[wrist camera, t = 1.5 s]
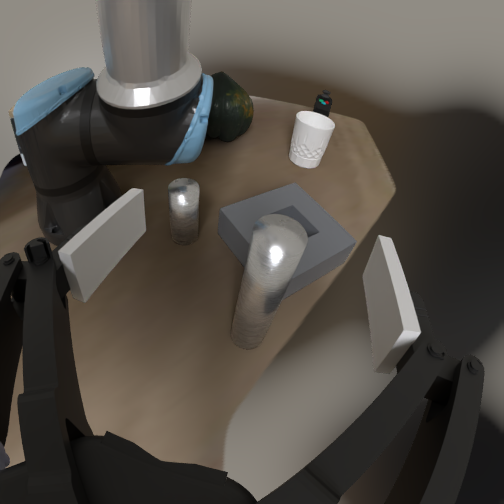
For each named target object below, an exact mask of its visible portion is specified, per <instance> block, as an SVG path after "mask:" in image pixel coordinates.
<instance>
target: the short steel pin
mask: <svg viewBox="0 0 504 504" xmlns="http://www.w3.org/2000/svg"><path fill="white" fill-rule="evenodd" d="M168 197H169V212H170V226H171V237H172V240H173V241H174V242H175V243H177V244H179V245H189V244H192V243H194V242H195V241H196V240H197V238H198V216H199V184H198V183H197V182H196V181H195V180H193V179H190V178H179V179H176V180H174V181H172V182H171V183H170V184H169V186H168Z"/></svg>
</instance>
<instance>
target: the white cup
mask: <svg viewBox="0 0 504 504" xmlns="http://www.w3.org/2000/svg"><path fill="white" fill-rule="evenodd" d="M334 127H335V124H334V122H333V121H332V120H330V119H329V118H328V117H326V116H324V115H321V114H319V113H315V112H311V111H301V112H298V113H297V115H296V120H295V124H294V129H293V134H292V139H291V147H290V152H289V158H290V160H291V161H292V162H293V163H294V164H296V165H298V166H300V167H304V168H315V167H317V166H318V165H319V163H320V160H321V158H322V155H323V154H324V152H325V149H326V147H327V145H328V143H329V140H330V137H331V135H332V132H333V130H334Z"/></svg>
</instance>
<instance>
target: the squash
mask: <svg viewBox="0 0 504 504" xmlns="http://www.w3.org/2000/svg"><path fill="white" fill-rule="evenodd" d="M211 77H212V78H213V96H212V103H211V110H210V113H209V118H208V126H207V131H206V136H205V137H208V136H210V137H212V138H216V137H219V138H220V139H221V140H222V141H226V142H229V141H232V140H234V139H235V138H236V137H237V136H239V135H242V134H243V133H245V132H246V130H247V129H248V128H249V126H250V124H251V121H252V118H253V103H252V100H251V98H250V97H249V95H248V94H247V93H246V91H245V90H244V89H243V88H241V87H240V86H239V85H238V84H237V83H236V82H235V81H234V80H233V79H231V78H230V77H229V76H228V75H227V74H225V73H224V72H222V71H221V72H219V73H215V74H213V75H212V76H211Z"/></svg>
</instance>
